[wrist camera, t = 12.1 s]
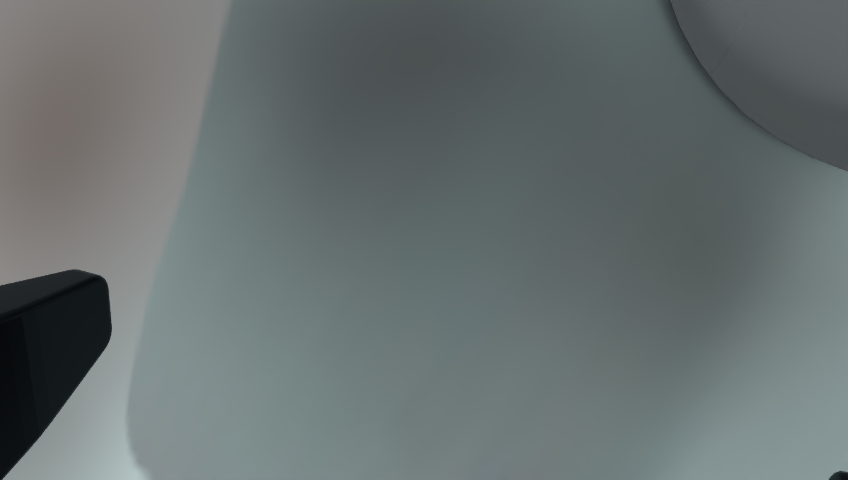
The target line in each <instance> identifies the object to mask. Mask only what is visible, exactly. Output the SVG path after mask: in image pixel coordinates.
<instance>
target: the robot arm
mask: <svg viewBox="0 0 848 480" xmlns="http://www.w3.org/2000/svg"><path fill="white" fill-rule="evenodd" d="M111 332H112V324H111V312H110V301H109V289H108V284H107V282H106V280H105V279H104V278H103V277H101V276H100V275H97V274H93V273H89V272H85V271H81V270H75V269H74V270H67V271H63V272H58V273H54V274H50V275H45V276H41V277H36V278H32V279H27V280H23V281H19V282H15V283H10V284H5V285H1V286H0V480H2V479H3V478H4V477H5V476H6V475H7V474H8V473H9V471H10V470H11V469H12V468H13V467H14V466H15V465H16V464H17V463H18V461H19V460H20V459H21V458H22V457H23V456H24V455H25V453H27V451H28V450H29V449H30V448H31V447H32V446H33V444H34V443H35V442H36V441H37V440H38V439H39V437H40V436H41V435H42V433H43V432H44V431H45V429H46V428H47V427H48V426H49V424H50V423H51V422H52V421H53V419H54V418H55V417H56V415H57V414H58V412H59V411H60V410H61V408H62V407H63V406H64V404H65V403H66V402H67V400H68V399H69V397H70V396H71V395H72V393H73V392H74V391H75V389H76V388H77V387H78V385H79V384H80V382H81V381H82V380H83V378H84V377H85V376H86V374H87V373H88V371H89V370H90V368H91V367H92V366H93V365H94V363H95V362H96V361H97V359H98V358H99V357H100V355H101V354H102V352H103V351H104V349H105V348H106V346H107V345H108V343H109V340H110V337H111ZM829 480H848V472H844V471H839V472H836V473H834V474H833V475H832V476H831V477H830V478H829Z"/></svg>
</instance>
